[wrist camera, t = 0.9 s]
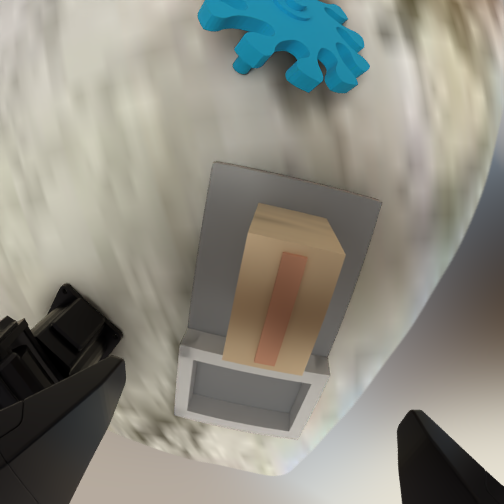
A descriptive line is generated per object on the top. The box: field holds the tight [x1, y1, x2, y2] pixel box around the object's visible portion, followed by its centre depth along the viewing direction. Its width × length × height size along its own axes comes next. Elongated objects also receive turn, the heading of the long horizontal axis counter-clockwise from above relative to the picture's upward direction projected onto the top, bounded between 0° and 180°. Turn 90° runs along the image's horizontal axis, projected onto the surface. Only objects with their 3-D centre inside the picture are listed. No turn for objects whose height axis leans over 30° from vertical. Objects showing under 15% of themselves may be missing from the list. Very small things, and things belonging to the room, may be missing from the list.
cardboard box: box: [222, 203, 346, 376], centre depth 16 cm, size 6×4×6 cm, turn 168°
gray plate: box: [174, 161, 382, 440], centre depth 21 cm, size 20×10×3 cm, turn 168°
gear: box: [198, 0, 370, 93], centre depth 14 cm, size 11×6×10 cm
